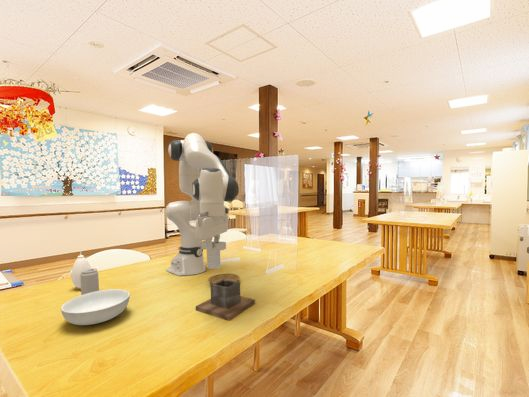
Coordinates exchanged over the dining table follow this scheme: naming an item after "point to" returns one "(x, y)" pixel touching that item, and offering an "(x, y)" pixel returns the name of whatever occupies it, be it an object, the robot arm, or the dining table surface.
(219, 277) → the plant saucer
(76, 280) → the sauce bottle
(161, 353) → the dining table surface
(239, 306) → the square pot on base
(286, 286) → the dining table surface
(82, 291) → the beverage can
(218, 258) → the grey t-shaped peg
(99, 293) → the serving bowl
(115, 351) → the dining table surface
